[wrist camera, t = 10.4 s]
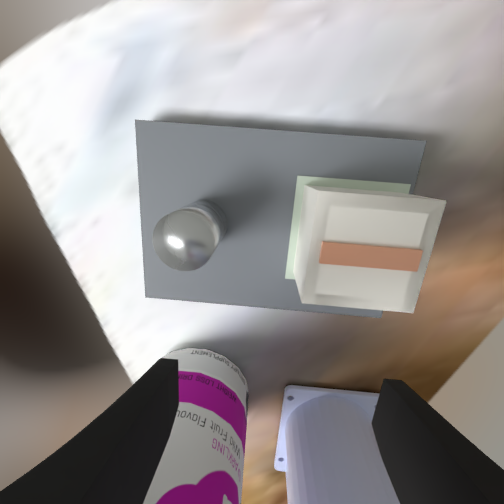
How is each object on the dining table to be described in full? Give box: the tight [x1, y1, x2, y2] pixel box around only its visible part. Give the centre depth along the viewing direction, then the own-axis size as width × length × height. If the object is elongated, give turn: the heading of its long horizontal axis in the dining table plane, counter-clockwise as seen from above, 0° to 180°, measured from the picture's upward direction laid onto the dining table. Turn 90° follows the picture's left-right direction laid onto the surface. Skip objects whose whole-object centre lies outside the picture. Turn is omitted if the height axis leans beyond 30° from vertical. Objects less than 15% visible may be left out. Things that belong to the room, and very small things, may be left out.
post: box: [152, 200, 227, 271], centre depth 14 cm, size 3×3×4 cm
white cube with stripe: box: [293, 185, 447, 313], centre depth 14 cm, size 5×5×4 cm
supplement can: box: [143, 348, 249, 504], centre depth 15 cm, size 8×8×15 cm
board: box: [135, 120, 426, 318], centre depth 17 cm, size 11×16×2 cm
